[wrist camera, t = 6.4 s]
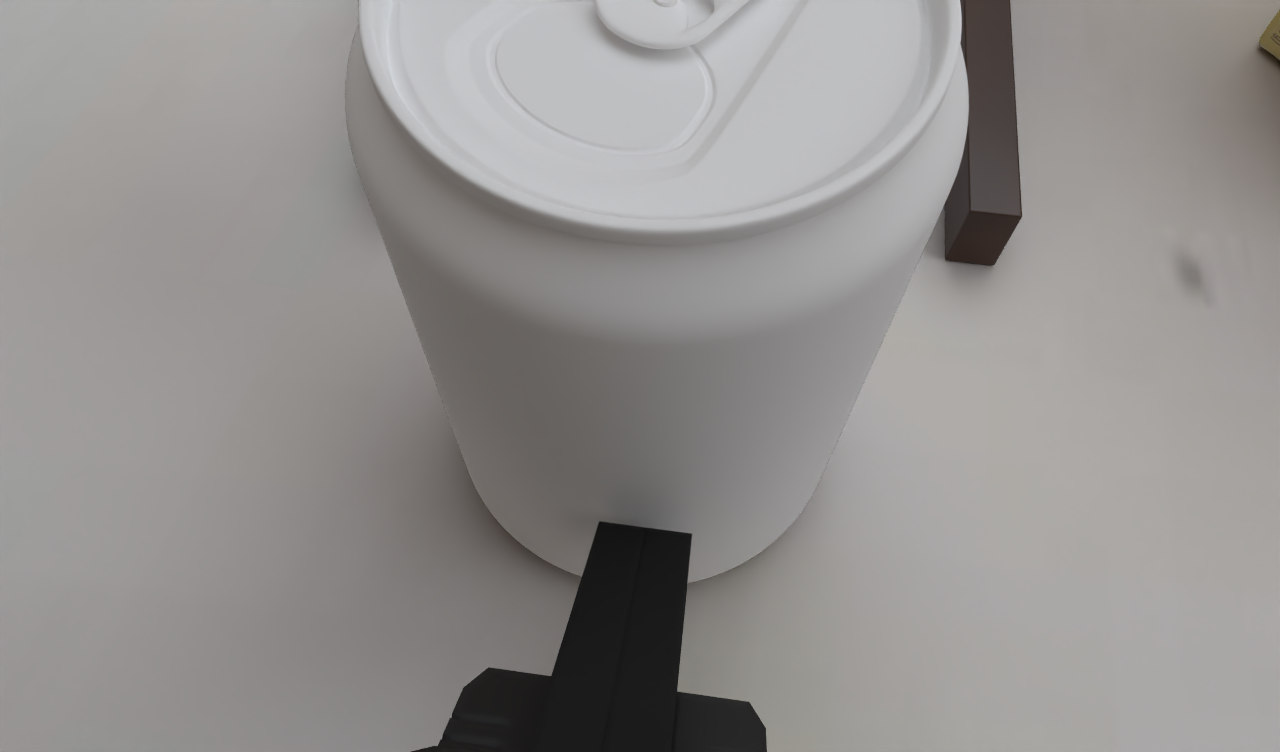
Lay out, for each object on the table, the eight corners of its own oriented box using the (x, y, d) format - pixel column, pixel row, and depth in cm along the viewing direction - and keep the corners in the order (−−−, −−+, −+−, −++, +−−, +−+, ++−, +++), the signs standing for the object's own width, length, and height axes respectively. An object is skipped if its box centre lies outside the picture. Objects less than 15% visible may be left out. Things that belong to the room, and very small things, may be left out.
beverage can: (387, 459, 22) (164, 44, 11) (604, 214, 25) (587, -291, 15) (696, 676, 20) (775, 415, 9) (891, 380, 23) (1115, -68, 12)
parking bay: (376, 196, 25) (357, 142, 24) (482, -141, 31) (473, -203, 30) (994, 266, 25) (1023, 216, 23) (980, -93, 31) (1002, -154, 29)
